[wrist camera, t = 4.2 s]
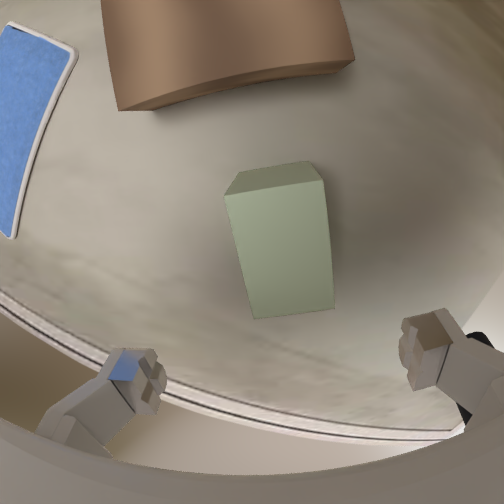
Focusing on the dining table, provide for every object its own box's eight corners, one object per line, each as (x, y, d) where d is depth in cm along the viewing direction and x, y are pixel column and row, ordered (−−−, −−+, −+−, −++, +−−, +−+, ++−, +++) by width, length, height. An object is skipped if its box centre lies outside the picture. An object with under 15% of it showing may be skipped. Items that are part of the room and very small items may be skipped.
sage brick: (308, 160, 18) (322, 179, 12) (321, 258, 21) (334, 308, 15) (239, 172, 19) (223, 196, 13) (259, 267, 21) (253, 319, 16)
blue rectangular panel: (14, 20, 13) (5, 19, 12) (86, 52, 15) (77, 50, 14) (-36, 182, 20) (-43, 185, 19) (19, 240, 23) (11, 245, 22)
